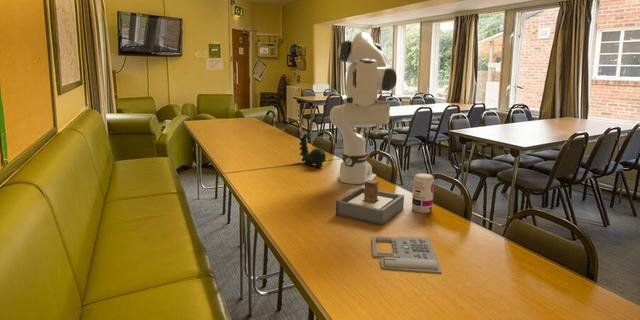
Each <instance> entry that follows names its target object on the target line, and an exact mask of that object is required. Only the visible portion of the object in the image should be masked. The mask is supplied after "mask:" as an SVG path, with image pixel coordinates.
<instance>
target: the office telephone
mask: <svg viewBox="0 0 640 320" xmlns="http://www.w3.org/2000/svg"><path fill="white" fill-rule="evenodd" d="M377 242H381V243H382V242H383V243H391V244H392V248H393V249H392V250H393V252H379V251H377ZM371 248H372V249H371V250H372V251H371V253H372V257H373V258H374V259H375V258H376V259H378V258H380V261H379V262H380V269H382V270H386V271H387V270H388V271H389V270H390V271H403V272H412V273H413V272H416V273H430V274H442V273H443V271H442V268H441V265H440V262H439V260H438V257H437V254H436V252H435V249H434V247H433V244H432V240H431V238H430V237H421V236H419V237H417V236H396V237H390V236H375V235H374V236H373V235H372V237H371Z"/></svg>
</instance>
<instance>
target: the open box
mask: <svg viewBox="0 0 640 320" xmlns="http://www.w3.org/2000/svg"><path fill="white" fill-rule="evenodd" d="M364 190H365V187H362V186H361V187H358V188H357V189H355V190H353V191H352V192H350V193H348V194H346V195H344V196H343V197H341V198H339V199H337V200H335V216H336V217H342V218H346V219H350V220H355V221H358V222H362V223H363V222H364V223H366V224H370V225H376V226H380V227H383V226H384V225H385V224H386V223H388V222H389V221H390V220H392V218H394V217H395V216H396V215H397V214H399V213H401V211H402V210H404V204H405V203H404V202H405V195H404V194H398V193H394V192H387V191H383V190H378V195H377V202H376V203H374V204H373V203H368V202H364Z"/></svg>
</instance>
